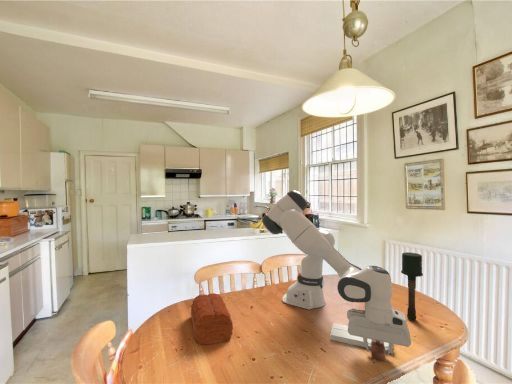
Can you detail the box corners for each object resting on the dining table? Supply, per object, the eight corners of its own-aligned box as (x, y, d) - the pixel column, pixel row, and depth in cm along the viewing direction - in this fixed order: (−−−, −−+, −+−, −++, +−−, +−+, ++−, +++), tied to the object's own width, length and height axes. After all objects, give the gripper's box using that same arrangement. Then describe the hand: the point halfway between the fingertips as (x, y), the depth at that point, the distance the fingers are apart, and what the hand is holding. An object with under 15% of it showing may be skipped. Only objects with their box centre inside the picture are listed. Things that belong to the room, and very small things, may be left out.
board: (330, 339, 103) (330, 334, 103) (333, 327, 113) (333, 322, 113) (392, 353, 95) (392, 347, 95) (390, 339, 104) (390, 334, 104)
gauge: (371, 359, 91) (371, 342, 91) (371, 339, 103) (371, 325, 103) (384, 362, 90) (384, 345, 90) (382, 342, 102) (382, 327, 102)
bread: (222, 310, 129) (222, 289, 129) (234, 340, 103) (235, 313, 103) (190, 315, 124) (190, 293, 124) (194, 347, 99) (194, 319, 98)
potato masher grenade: (426, 325, 115) (426, 256, 115) (404, 322, 117) (404, 255, 117) (418, 315, 123) (418, 252, 123) (398, 314, 125) (398, 251, 125)
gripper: (346, 311, 94) (346, 349, 94) (411, 322, 86) (411, 364, 86) (347, 304, 100) (347, 340, 100) (409, 314, 92) (409, 353, 92)
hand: (377, 351), depth 93 cm, fingers open, 5 cm apart
